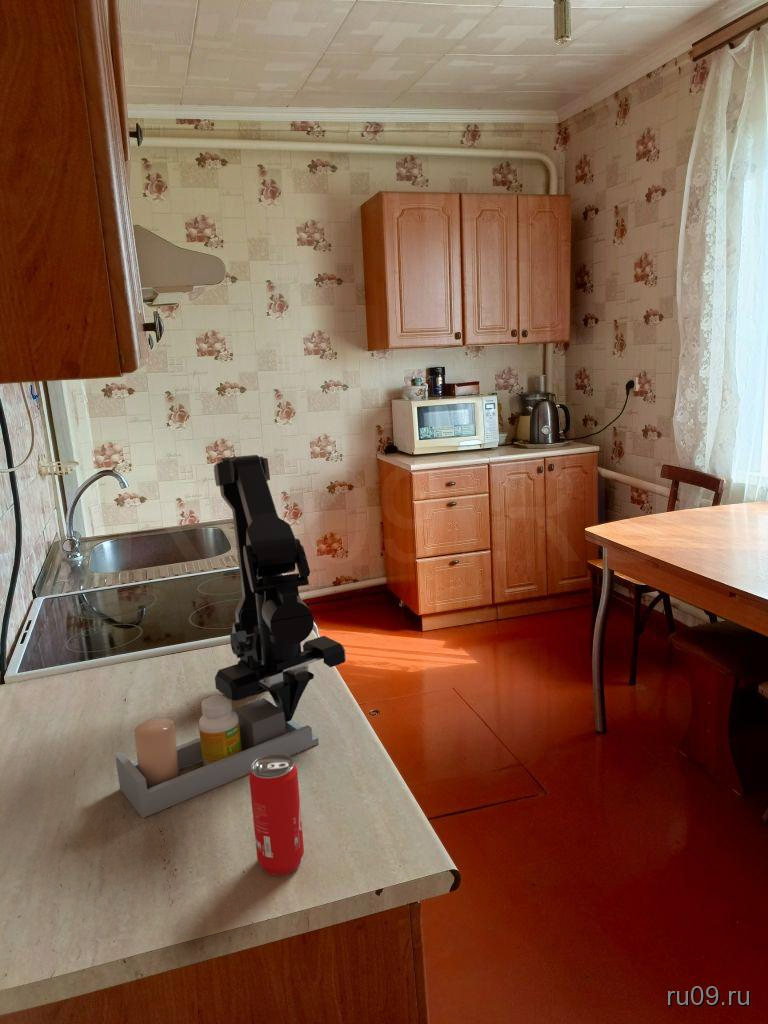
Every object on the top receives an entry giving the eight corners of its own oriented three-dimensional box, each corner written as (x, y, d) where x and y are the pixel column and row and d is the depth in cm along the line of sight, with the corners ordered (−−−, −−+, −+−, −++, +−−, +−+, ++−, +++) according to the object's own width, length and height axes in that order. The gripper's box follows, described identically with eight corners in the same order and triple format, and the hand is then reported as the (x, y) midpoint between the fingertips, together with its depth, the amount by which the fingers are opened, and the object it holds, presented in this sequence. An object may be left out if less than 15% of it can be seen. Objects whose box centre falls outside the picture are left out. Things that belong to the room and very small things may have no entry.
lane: (288, 723, 114) (286, 693, 113) (318, 744, 107) (316, 712, 106) (120, 788, 99) (115, 754, 97) (142, 818, 92) (137, 782, 91)
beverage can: (259, 849, 85) (250, 754, 82) (305, 844, 85) (297, 750, 83) (256, 880, 80) (245, 780, 77) (304, 875, 80) (295, 776, 78)
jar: (167, 776, 101) (161, 714, 99) (187, 788, 98) (181, 725, 96) (133, 792, 97) (126, 728, 96) (154, 805, 94) (147, 740, 92)
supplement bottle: (233, 777, 100) (226, 711, 98) (197, 775, 101) (188, 709, 99) (249, 756, 105) (242, 693, 103) (213, 754, 106) (206, 691, 104)
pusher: (267, 735, 110) (264, 698, 109) (287, 750, 106) (283, 711, 104) (237, 747, 107) (233, 709, 106) (256, 763, 103) (252, 723, 101)
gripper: (303, 592, 117) (311, 683, 120) (193, 622, 106) (204, 722, 109) (344, 608, 108) (351, 706, 112) (228, 644, 97) (239, 751, 100)
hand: (287, 720), depth 108 cm, fingers closed
